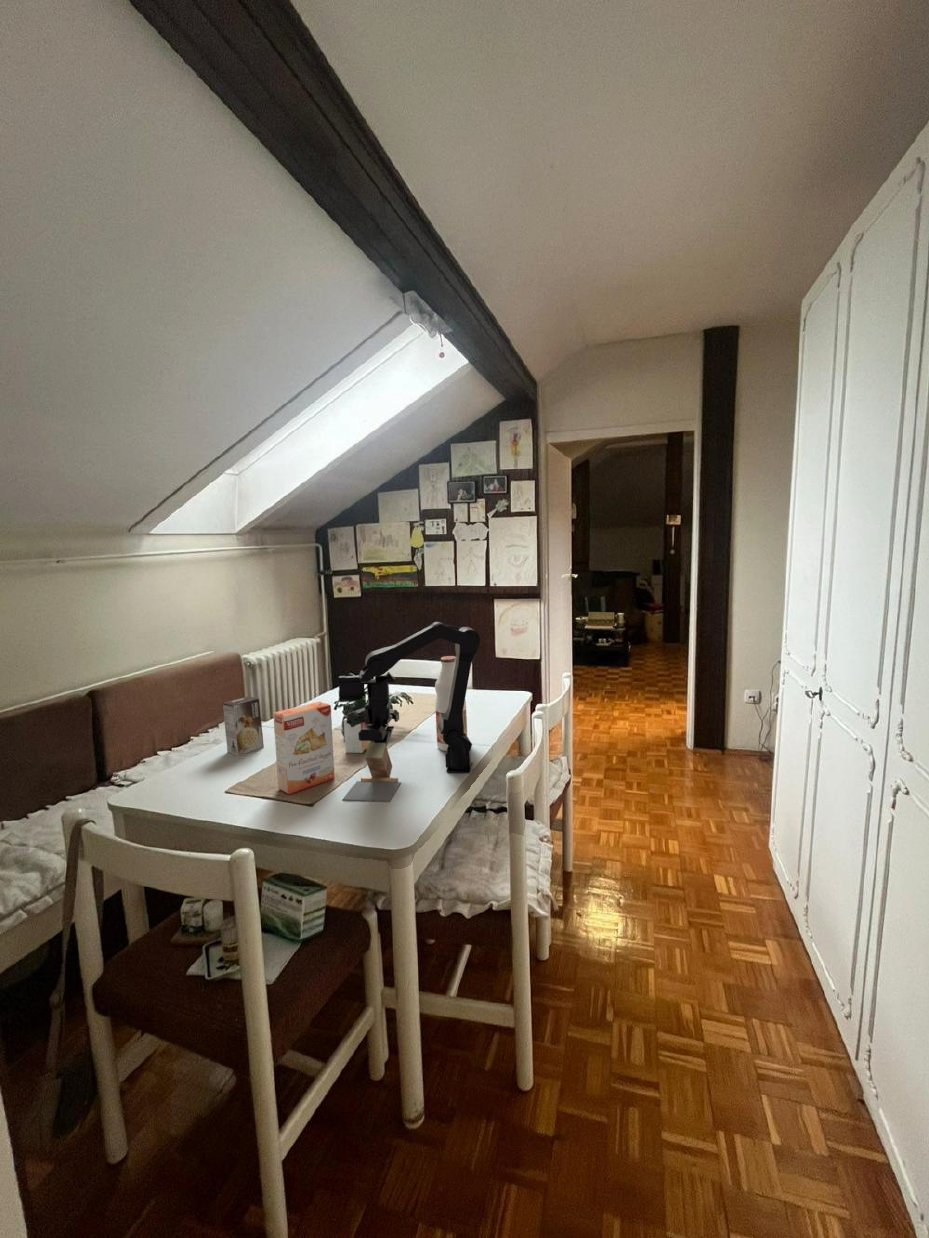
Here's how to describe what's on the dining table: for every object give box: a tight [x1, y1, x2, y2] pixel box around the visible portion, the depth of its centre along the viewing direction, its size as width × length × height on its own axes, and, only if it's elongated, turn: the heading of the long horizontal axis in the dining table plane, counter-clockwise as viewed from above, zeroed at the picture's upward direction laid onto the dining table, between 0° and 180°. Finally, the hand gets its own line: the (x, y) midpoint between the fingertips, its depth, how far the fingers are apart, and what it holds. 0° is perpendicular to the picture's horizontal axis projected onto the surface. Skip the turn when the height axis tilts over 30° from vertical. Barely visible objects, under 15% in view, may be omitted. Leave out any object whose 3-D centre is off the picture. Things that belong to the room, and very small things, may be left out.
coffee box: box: [222, 695, 265, 757], centre depth 182 cm, size 9×6×16 cm
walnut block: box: [364, 742, 393, 778], centre depth 155 cm, size 4×4×10 cm
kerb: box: [360, 776, 399, 782], centre depth 155 cm, size 10×1×1 cm, turn 81°
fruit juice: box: [434, 655, 468, 752], centre depth 178 cm, size 9×9×28 cm
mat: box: [341, 780, 402, 803], centre depth 149 cm, size 12×11×1 cm
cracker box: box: [272, 701, 335, 795], centre depth 154 cm, size 14×6×21 cm, turn 136°
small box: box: [343, 718, 372, 754], centre depth 180 cm, size 8×6×10 cm
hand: (381, 755), depth 157 cm, fingers closed
